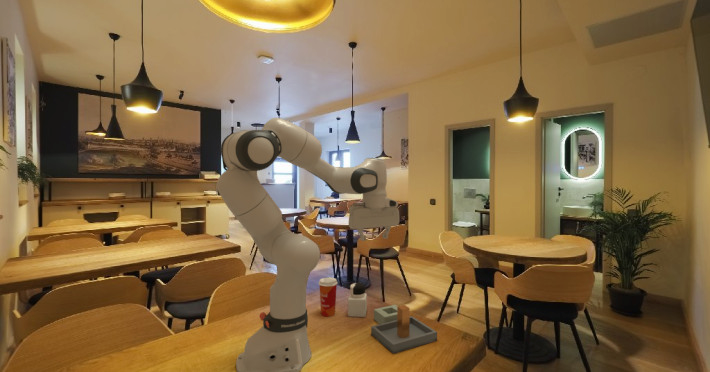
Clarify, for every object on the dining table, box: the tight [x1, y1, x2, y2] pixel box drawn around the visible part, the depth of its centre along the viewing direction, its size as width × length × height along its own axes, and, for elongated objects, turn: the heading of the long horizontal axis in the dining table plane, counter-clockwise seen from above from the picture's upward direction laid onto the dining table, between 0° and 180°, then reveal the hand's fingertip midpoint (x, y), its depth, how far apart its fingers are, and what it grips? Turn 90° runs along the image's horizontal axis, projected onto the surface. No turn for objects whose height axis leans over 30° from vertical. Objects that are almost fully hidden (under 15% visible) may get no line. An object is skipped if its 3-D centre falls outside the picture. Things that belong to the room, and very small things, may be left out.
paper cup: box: [318, 276, 338, 318], centre depth 132 cm, size 8×8×14 cm
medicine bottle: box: [347, 282, 368, 318], centre depth 132 cm, size 7×7×12 cm
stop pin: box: [396, 304, 411, 338], centre depth 112 cm, size 3×3×10 cm
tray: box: [370, 315, 438, 355], centre depth 113 cm, size 18×14×3 cm
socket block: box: [373, 304, 398, 324], centre depth 125 cm, size 10×8×4 cm
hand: (374, 239), depth 120 cm, fingers open, 8 cm apart
